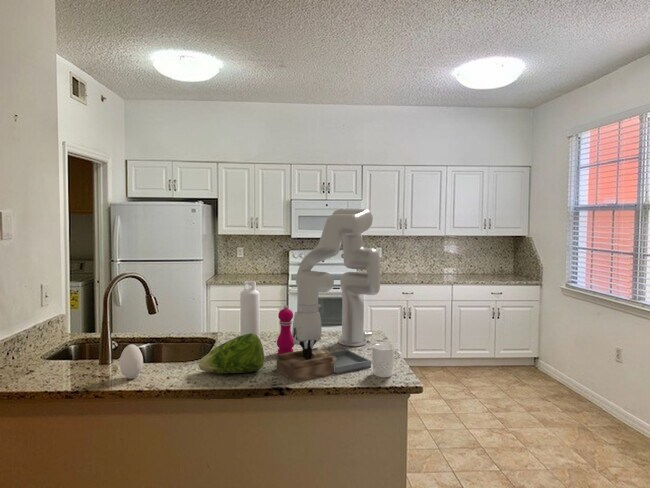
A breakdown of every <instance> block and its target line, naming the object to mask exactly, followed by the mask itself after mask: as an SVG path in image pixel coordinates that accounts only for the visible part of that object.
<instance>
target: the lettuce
mask: <svg viewBox="0 0 650 488" xmlns="http://www.w3.org/2000/svg"><path fill="white" fill-rule="evenodd" d="M263 347H264V346H263V343H262V341H261V338H260V339H259V337H258V336H257V335H256V334H253V333H249V334H245V335H242V336H240V335H238V336H236V337H234V338H232V339H230V340H228V341H226V342H222V344H219V345H218V346H216V347H214V348H212V350H211V351H210V352H208V353H207V354H206V355H205V356H203V357H201V359H200V360H199V361H198V368H199V370H201V371H204V372H210V373H216V374H217V373H218V374H246V373H251V372H257V371H259V370H260V369H261V368H263V367H264V362H265V353H264V348H263Z"/></svg>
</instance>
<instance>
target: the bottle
mask: <svg viewBox="0 0 650 488" xmlns="http://www.w3.org/2000/svg"><path fill="white" fill-rule="evenodd" d="M256 285H257V283H256V281H255V280H246V281H244V285H243V288H244V290H242V291H241V292H240V294H239V295H240V298H239V299H240V301H239V303H240V304H239V305H240V311H239V313H240V315H239V316H240V317H239V318H240V330H239V331H240V332H239V333H240V335H239V336H242V335H245V334H249V333H253V334H256V335H257V336H258V337H259V339H260V340H261V338H260V337H261V336H260V335H261V333H260V332H261V330H260V328H261V327H260V326H261V325H260V324H261V322H260V319H261V317H260V316H261V315H260V311H261V310H260V307H261V306H260V305H261V302H260V301H261V298H260V297H261V293H260V292H259V291H258V290H257V289H256V288H257V286H256Z"/></svg>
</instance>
